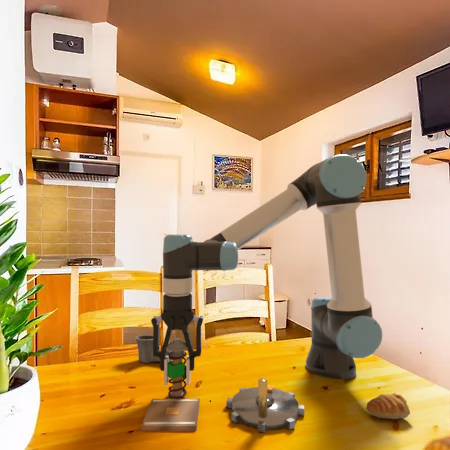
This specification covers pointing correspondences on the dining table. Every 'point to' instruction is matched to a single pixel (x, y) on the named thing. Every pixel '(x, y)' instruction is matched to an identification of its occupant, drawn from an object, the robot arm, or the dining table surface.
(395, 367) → the dining table surface
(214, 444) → the dining table surface
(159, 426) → the pad
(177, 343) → the shock absorber
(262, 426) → the sprocket
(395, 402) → the pastry
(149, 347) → the pipe
